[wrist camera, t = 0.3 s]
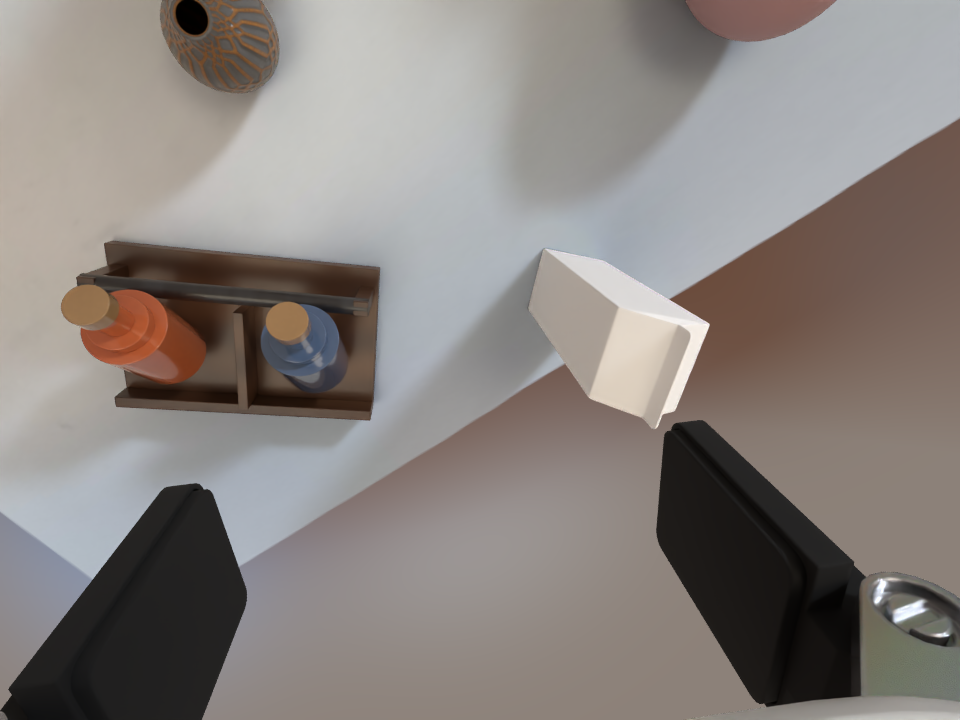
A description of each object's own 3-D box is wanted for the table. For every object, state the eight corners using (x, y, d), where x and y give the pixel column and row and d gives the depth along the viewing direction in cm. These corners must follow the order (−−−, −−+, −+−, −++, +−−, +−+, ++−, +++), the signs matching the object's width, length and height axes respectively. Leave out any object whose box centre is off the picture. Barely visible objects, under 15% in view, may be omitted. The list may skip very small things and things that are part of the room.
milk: (527, 308, 48) (602, 425, 27) (543, 246, 45) (638, 323, 25) (586, 319, 49) (700, 439, 28) (604, 259, 46) (743, 343, 26)
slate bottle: (287, 329, 44) (248, 276, 33) (351, 334, 45) (335, 285, 34) (279, 391, 43) (235, 359, 31) (345, 395, 44) (326, 365, 32)
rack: (112, 240, 41) (65, 254, 36) (380, 267, 44) (374, 283, 39) (134, 391, 46) (97, 422, 41) (373, 404, 50) (367, 435, 44)
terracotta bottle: (142, 318, 43) (45, 258, 31) (211, 323, 43) (142, 267, 32) (129, 382, 41) (23, 344, 30) (200, 386, 42) (125, 351, 30)
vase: (306, 76, 38) (275, 56, 30) (226, 112, 39) (174, 102, 30) (257, -27, 35) (209, -79, 27) (171, 13, 36) (99, -27, 28)
